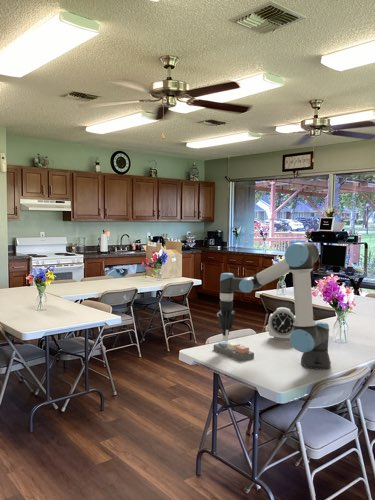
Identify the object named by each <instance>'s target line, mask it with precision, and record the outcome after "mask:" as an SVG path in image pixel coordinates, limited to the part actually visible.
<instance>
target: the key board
mask: <svg viewBox="0 0 375 500" xmlns="http://www.w3.org/2000/svg"><path fill="white" fill-rule="evenodd" d="M213 351H216V352H217V353H220V354H222V355H225V356H227V357H229V358H231V359H235V360H236V361H238V362H239V361H240V362H242V361H246V360H251V359H254V358H255V352H253V351H251V350H249V353H246V354H240V353H237V352H236V350H234V351H232V350H230V349H227V347H222V346H220V345H219V343H216V344H213Z"/></svg>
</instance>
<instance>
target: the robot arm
mask: <svg viewBox="0 0 375 500" xmlns="http://www.w3.org/2000/svg"><path fill="white" fill-rule="evenodd" d="M319 257H320V251H319V247H318V246H317V245H316V244H314V243H312V242H309V241H308V242H307V241H306V242H295V243H291V244H290V245H289V246H287V248H285V251H284V259H282V260H281V261H278V262H276V263H275V264H272V265H271V266H269V267H267V268H265V269H263V270H261V271H260V272H257V273H256V274H253V275H252V276H249V277H235V275H234V273H232V272H223V273H221V274H220V279H219V289H220V290H219V299H220V300H219V308H220V309H219V311H218V312H216V313H215V315H216V317H217V321H218V328H219V329H220V330H222V342H229V335H230V330H231V329H232V328H233V326H234V325H233V324H234V319H235V316H236V313H237V312H236V311H235V310H233V306H234V301H233V300H234V291H235V292H239V293H252V291H253V290H258V289H261V288H262V287H263V286H265V285H267V284H268V283H271V282H273V281H275V280H277V279H278V278H280V277H283V276H285V275H286V274H289V273H292V283H293V284H292V285H293V287H292V288H293V299H294V313H295V315H294V316H295V317H296V321H295V322H294V323H293V332H292V333H291V335H290V341H289V342H290V344H291V346H292V347H293V348H294V349H295V351H298V352H299V353H302V354H301V357H300V364H301V366H303V367H306V368H309V369H314V370H327V369H330V368H331V366H332V365H331V364H332V363H331V360H330V355H329V337H330V324H329V323H327V322H324V321H319V320H314V309H313V296H312V295H313V294H312V293H313V292H312V279H311V272H312V271H313V270H314V264H315V263H316V262H317V261H318V260H319Z"/></svg>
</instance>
